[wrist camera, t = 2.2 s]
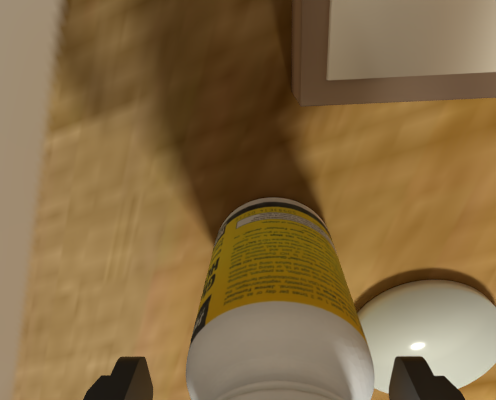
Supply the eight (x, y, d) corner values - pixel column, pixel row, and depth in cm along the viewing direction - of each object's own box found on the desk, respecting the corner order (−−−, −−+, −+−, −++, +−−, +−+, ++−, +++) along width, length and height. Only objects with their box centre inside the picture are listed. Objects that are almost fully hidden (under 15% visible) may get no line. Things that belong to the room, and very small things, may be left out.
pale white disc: (517, 278, 18) (528, 288, 17) (477, 386, 22) (484, 397, 21) (352, 280, 19) (355, 290, 18) (341, 384, 22) (343, 396, 22)
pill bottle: (204, 202, 17) (119, 425, 7) (325, 184, 16) (422, 406, 6) (228, 294, 19) (191, 555, 9) (333, 283, 19) (411, 551, 9)
